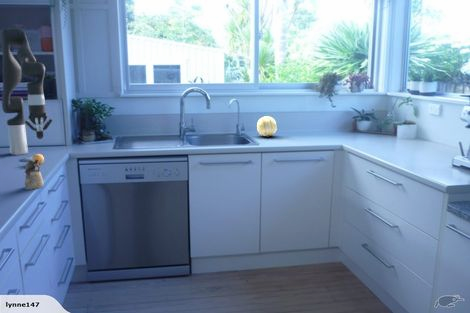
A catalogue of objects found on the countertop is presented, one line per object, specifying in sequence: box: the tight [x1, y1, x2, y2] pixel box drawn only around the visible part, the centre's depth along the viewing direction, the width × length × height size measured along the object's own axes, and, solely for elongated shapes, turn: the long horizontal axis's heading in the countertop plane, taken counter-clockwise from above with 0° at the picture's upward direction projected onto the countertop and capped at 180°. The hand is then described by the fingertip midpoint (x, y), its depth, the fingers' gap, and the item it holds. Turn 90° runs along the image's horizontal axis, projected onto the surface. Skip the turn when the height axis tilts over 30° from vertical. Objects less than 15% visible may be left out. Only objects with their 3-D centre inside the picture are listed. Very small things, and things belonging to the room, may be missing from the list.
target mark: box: [19, 156, 33, 163], centre depth 235 cm, size 12×12×1 cm
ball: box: [32, 153, 45, 165], centre depth 222 cm, size 6×6×6 cm
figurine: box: [23, 159, 44, 190], centre depth 178 cm, size 7×7×12 cm
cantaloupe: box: [256, 115, 278, 138], centre depth 308 cm, size 15×15×15 cm
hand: (40, 138), depth 212 cm, fingers closed
